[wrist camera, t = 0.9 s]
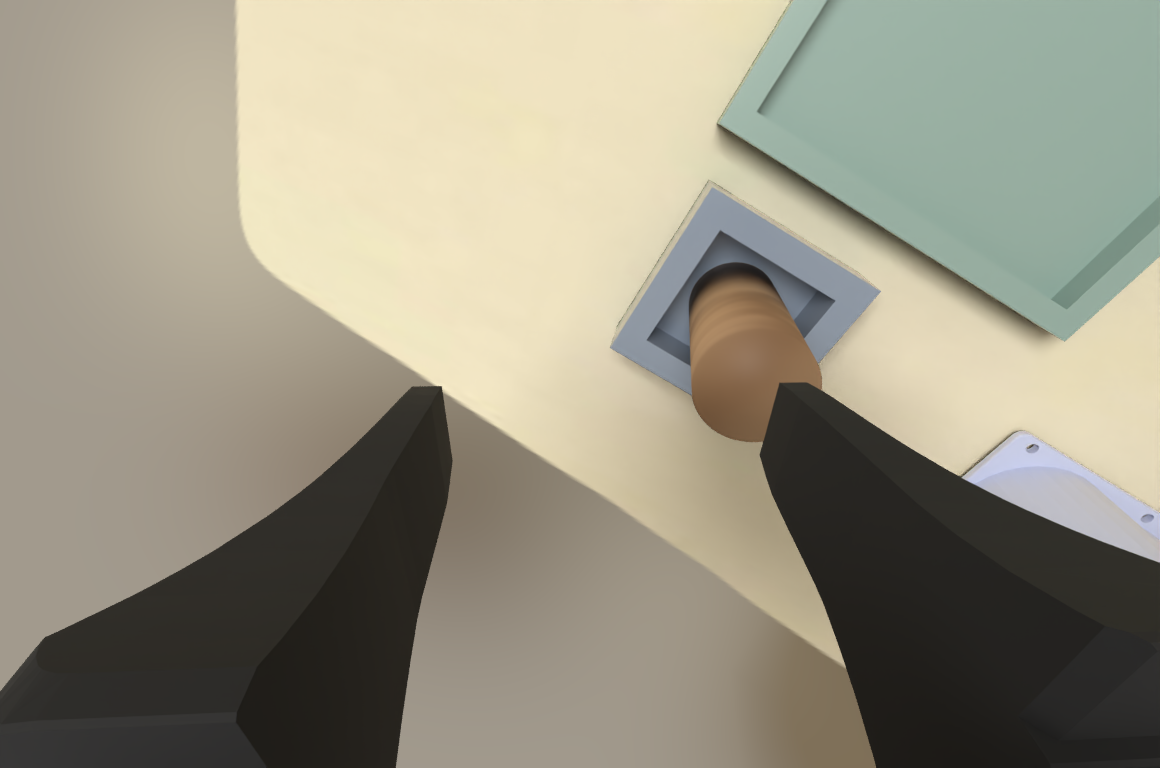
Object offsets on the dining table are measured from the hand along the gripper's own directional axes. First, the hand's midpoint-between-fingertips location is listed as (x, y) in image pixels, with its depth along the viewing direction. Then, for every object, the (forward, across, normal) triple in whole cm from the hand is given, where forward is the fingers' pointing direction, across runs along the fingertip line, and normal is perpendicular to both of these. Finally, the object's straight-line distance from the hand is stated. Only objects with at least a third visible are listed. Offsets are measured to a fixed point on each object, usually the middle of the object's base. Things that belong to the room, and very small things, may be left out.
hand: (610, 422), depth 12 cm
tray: (+13, -16, -6) cm, 22 cm away
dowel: (+14, -7, +4) cm, 16 cm away
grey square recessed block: (+14, -7, +4) cm, 16 cm away
